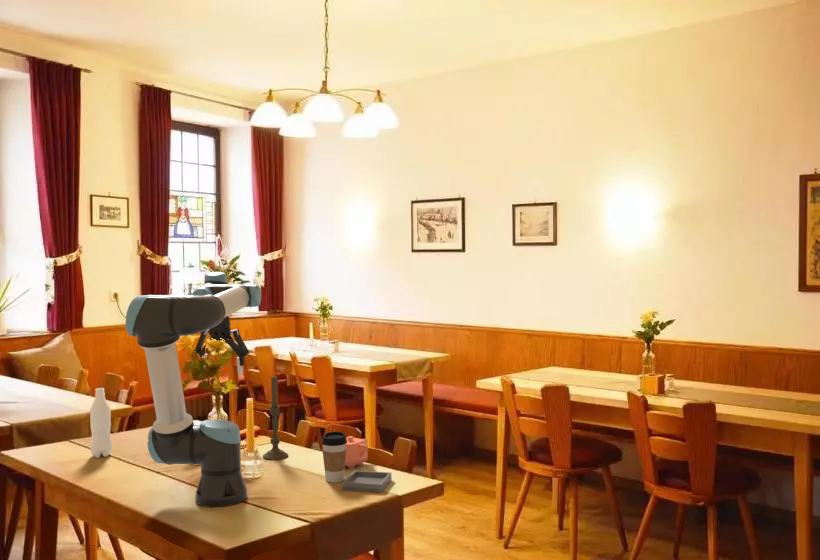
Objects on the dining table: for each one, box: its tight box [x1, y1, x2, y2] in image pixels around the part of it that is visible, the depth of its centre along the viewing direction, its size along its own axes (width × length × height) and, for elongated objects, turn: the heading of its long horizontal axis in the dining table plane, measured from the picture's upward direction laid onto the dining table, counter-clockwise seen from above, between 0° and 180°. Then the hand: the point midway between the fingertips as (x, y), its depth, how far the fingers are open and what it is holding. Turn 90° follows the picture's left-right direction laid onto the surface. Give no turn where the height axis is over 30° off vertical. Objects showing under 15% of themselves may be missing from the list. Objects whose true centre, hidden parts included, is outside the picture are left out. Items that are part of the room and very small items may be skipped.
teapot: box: [345, 435, 369, 470], centre depth 256 cm, size 14×12×10 cm
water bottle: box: [89, 387, 113, 459], centre depth 270 cm, size 7×7×25 cm
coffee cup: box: [321, 431, 347, 484], centre depth 239 cm, size 8×8×15 cm
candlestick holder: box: [262, 375, 289, 461], centre depth 267 cm, size 9×9×30 cm
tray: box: [342, 469, 392, 494], centre depth 234 cm, size 13×13×2 cm
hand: (223, 373), depth 263 cm, fingers open, 13 cm apart
